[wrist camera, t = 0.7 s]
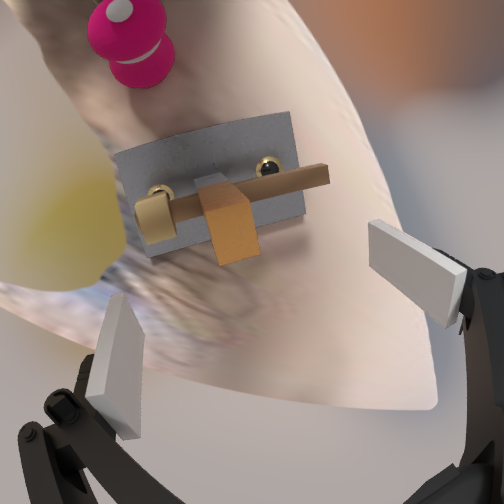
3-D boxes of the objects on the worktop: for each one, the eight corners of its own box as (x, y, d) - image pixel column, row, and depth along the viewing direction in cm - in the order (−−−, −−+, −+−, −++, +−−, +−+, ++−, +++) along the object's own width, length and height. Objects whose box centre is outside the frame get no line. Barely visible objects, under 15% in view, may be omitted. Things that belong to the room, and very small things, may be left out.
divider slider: (191, 174, 35) (205, 212, 20) (216, 167, 35) (249, 200, 20) (199, 205, 37) (219, 265, 21) (223, 198, 37) (260, 254, 22)
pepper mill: (184, 73, 32) (194, 19, 14) (132, 103, 32) (88, 78, 14) (159, 29, 29) (149, -52, 11) (107, 58, 28) (50, 3, 11)
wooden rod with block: (140, 188, 35) (129, 207, 26) (296, 149, 37) (330, 157, 29) (149, 218, 36) (142, 246, 28) (301, 178, 39) (335, 194, 31)
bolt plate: (116, 153, 34) (113, 154, 32) (285, 111, 37) (289, 111, 35) (148, 253, 40) (147, 258, 38) (301, 210, 43) (306, 214, 41)
